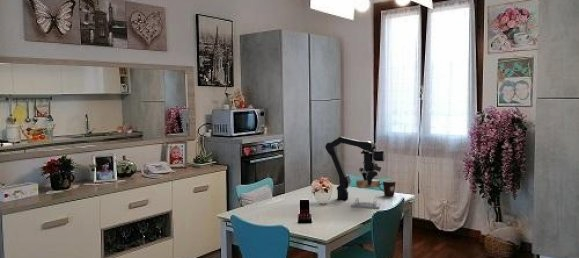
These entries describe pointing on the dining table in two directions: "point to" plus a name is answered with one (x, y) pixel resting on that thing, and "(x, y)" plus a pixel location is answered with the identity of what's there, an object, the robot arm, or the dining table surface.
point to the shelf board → (365, 183)
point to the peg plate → (366, 204)
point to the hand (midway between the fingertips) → (368, 184)
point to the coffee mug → (388, 187)
